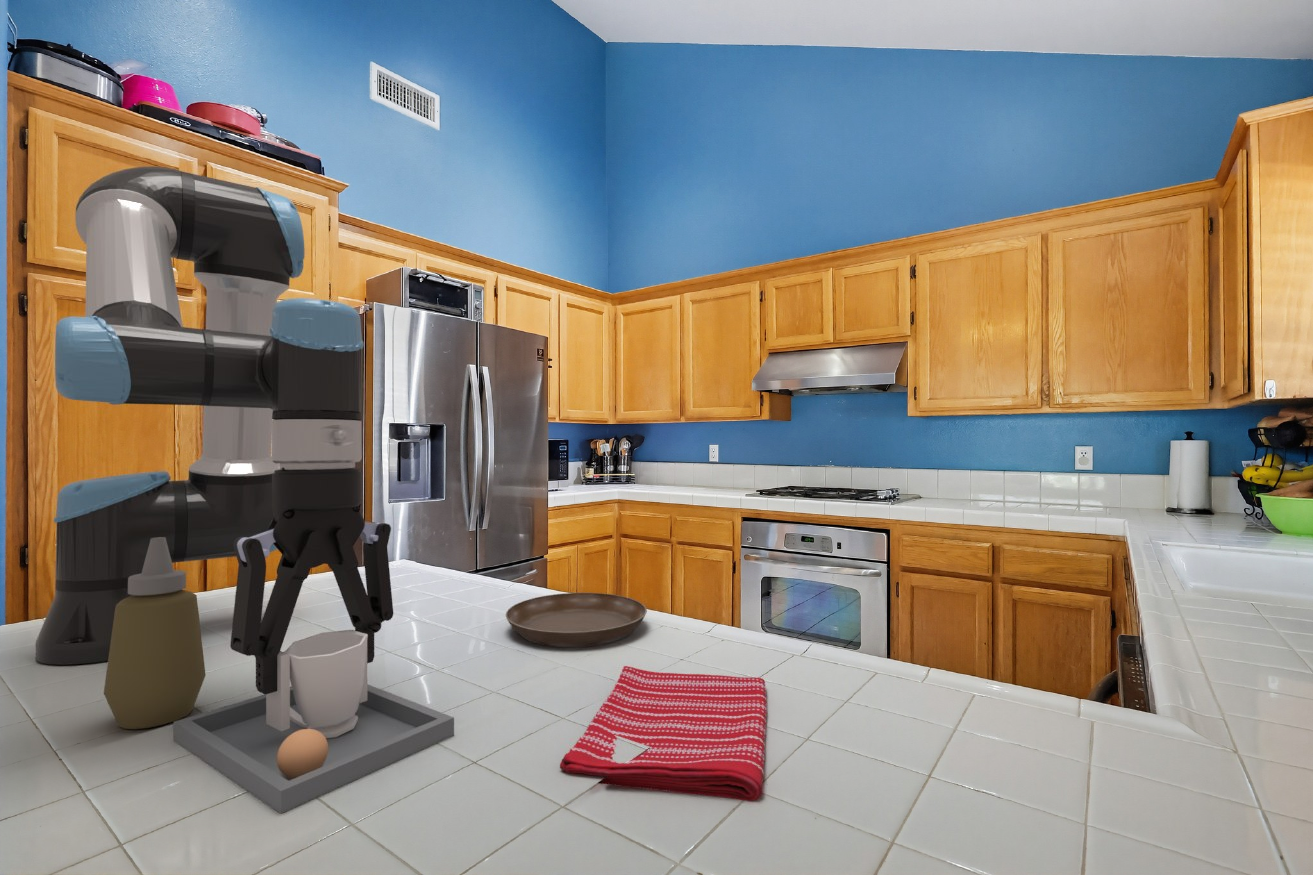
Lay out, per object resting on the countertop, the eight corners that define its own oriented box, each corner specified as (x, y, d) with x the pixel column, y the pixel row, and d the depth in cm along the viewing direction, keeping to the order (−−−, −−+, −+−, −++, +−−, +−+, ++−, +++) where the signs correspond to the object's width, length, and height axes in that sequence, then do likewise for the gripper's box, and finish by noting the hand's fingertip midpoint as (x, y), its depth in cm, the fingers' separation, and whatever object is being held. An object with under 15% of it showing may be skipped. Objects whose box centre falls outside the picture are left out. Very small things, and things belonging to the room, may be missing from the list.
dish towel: (550, 790, 51) (550, 757, 51) (620, 682, 74) (620, 660, 74) (764, 813, 48) (764, 777, 48) (767, 693, 71) (767, 669, 71)
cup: (341, 749, 55) (335, 659, 55) (241, 743, 57) (234, 655, 56) (388, 710, 62) (383, 630, 62) (298, 705, 64) (293, 627, 63)
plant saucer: (644, 654, 84) (644, 629, 84) (488, 653, 84) (488, 628, 84) (648, 612, 104) (648, 592, 104) (523, 612, 105) (523, 592, 105)
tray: (173, 748, 57) (173, 721, 57) (337, 694, 69) (337, 672, 69) (280, 824, 46) (280, 791, 46) (454, 743, 58) (454, 717, 58)
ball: (268, 778, 50) (268, 733, 50) (313, 760, 53) (314, 717, 53) (290, 793, 48) (290, 745, 48) (336, 772, 51) (337, 728, 51)
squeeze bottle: (224, 707, 66) (226, 534, 66) (139, 742, 58) (141, 546, 58) (170, 697, 69) (172, 531, 69) (82, 729, 61) (84, 541, 61)
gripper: (217, 470, 50) (217, 766, 49) (431, 463, 66) (433, 686, 65) (179, 469, 54) (179, 742, 54) (389, 463, 70) (390, 672, 70)
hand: (318, 711), depth 59 cm, fingers closed on cup, 7 cm apart
